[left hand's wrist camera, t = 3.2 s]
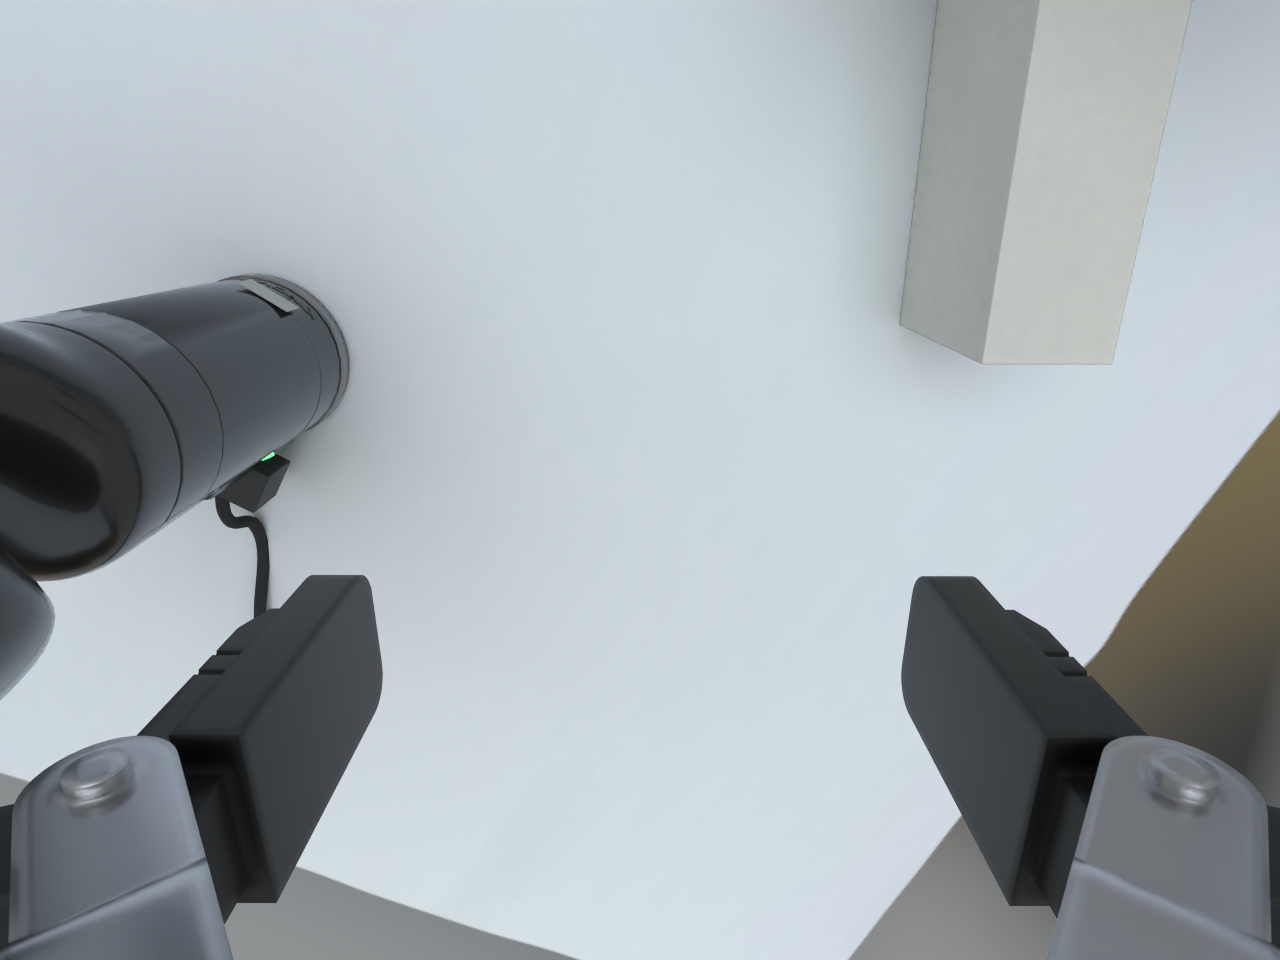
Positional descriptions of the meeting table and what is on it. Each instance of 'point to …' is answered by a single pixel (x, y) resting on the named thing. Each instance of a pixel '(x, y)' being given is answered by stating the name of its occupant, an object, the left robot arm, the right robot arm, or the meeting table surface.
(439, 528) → the meeting table surface
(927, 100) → the box
